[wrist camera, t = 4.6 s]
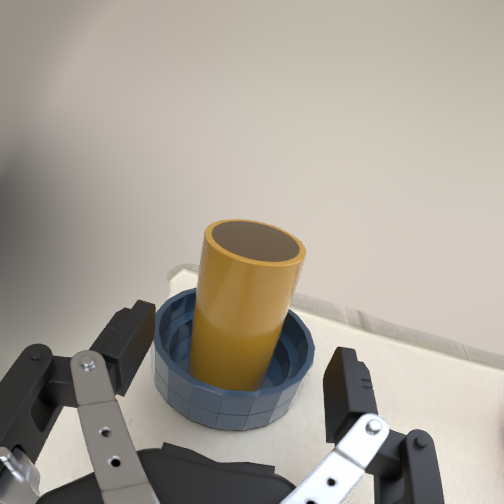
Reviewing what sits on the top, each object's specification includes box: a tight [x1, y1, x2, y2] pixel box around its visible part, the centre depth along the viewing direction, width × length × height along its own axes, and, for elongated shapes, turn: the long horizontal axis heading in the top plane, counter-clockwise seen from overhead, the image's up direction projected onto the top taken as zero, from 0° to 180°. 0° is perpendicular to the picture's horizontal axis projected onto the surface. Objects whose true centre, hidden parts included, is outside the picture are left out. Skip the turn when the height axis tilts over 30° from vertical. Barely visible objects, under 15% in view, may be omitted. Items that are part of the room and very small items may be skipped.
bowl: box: [151, 288, 315, 430], centre depth 23 cm, size 11×11×4 cm
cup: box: [188, 219, 306, 391], centre depth 21 cm, size 6×6×11 cm
